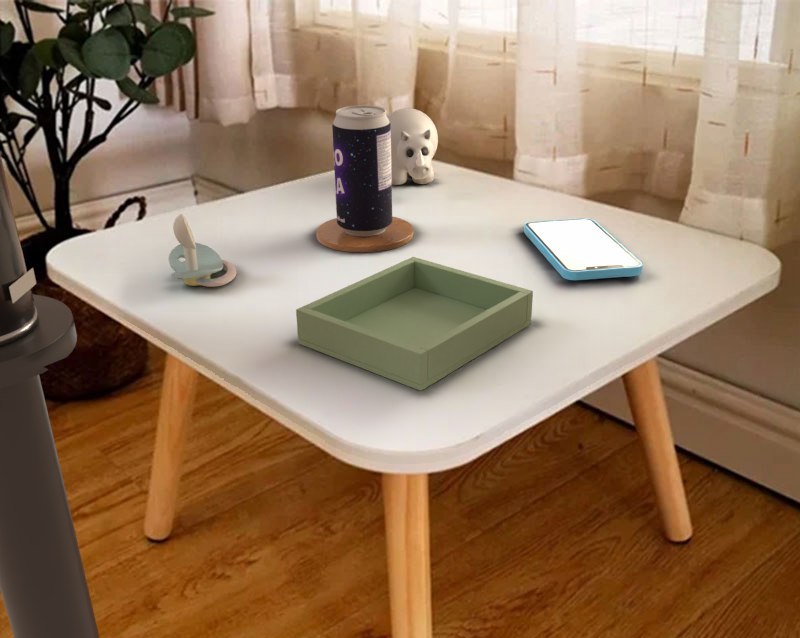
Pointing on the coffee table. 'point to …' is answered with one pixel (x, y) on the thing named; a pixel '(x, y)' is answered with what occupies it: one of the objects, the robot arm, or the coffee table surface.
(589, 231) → the smartphone
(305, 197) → the coffee table surface
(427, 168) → the round bodied animal figurine
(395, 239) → the coaster
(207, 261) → the pacifier
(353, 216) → the beverage can
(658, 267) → the coffee table surface
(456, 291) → the tray
